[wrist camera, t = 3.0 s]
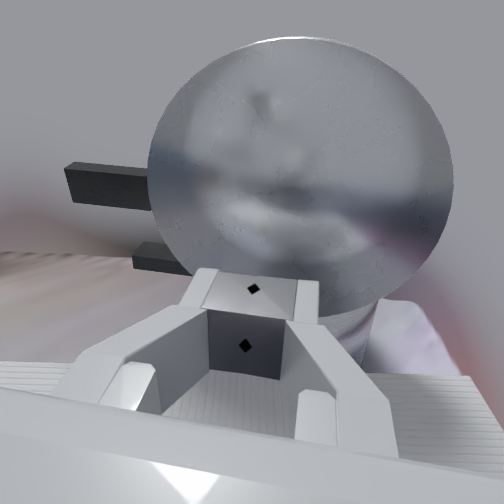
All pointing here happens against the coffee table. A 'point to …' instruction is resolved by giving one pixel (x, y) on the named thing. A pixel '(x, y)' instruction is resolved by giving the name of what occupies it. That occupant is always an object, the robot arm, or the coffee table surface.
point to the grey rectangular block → (283, 417)
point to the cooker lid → (293, 171)
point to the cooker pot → (340, 326)
